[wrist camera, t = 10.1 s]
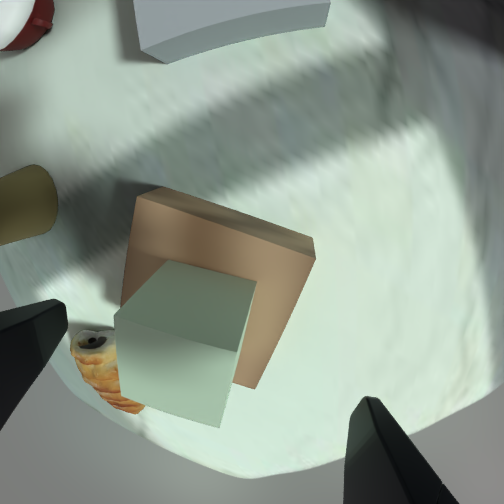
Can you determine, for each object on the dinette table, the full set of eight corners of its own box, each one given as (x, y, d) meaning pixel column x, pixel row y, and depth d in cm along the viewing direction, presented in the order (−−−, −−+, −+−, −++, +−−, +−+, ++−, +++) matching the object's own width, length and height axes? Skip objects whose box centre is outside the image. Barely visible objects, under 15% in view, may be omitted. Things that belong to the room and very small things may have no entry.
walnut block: (312, 235, 19) (315, 258, 15) (261, 353, 23) (254, 389, 19) (165, 185, 19) (137, 196, 16) (141, 308, 23) (118, 336, 19)
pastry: (165, 404, 26) (151, 432, 23) (112, 397, 28) (96, 421, 24) (130, 325, 24) (107, 352, 20) (75, 325, 25) (52, 347, 21)
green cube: (256, 281, 16) (237, 352, 11) (240, 352, 18) (219, 428, 13) (168, 259, 17) (113, 315, 11) (163, 331, 18) (121, 395, 13)
